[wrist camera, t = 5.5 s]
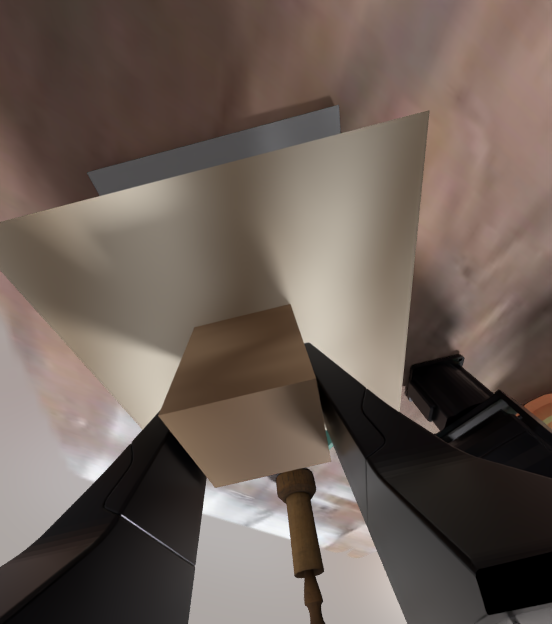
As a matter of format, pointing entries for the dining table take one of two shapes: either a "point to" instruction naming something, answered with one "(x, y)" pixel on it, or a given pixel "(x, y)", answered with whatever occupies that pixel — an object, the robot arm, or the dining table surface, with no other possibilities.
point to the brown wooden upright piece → (303, 535)
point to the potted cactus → (541, 408)
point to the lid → (238, 291)
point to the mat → (217, 151)
